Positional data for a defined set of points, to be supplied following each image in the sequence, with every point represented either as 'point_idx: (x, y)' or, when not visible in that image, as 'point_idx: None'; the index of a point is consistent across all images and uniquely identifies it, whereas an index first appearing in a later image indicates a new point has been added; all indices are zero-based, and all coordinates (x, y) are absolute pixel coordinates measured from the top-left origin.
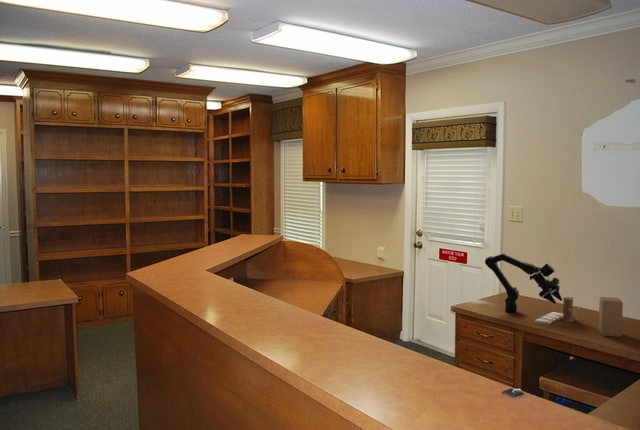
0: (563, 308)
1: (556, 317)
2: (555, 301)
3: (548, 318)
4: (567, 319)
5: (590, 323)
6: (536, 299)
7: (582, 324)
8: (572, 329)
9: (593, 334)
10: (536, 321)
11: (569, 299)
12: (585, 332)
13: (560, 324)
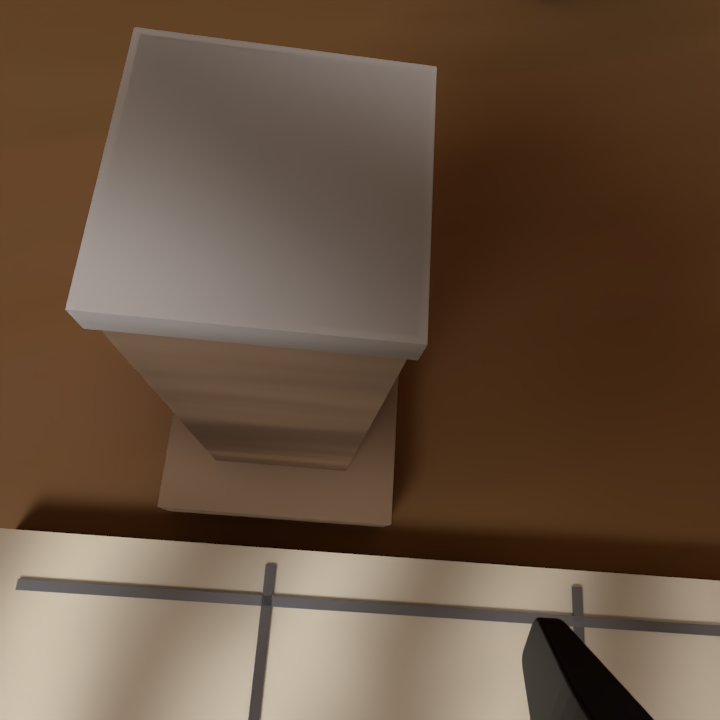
0: (363, 433)
1: (365, 593)
2: (573, 655)
3: None
4: (394, 382)
5: None
6: None
7: None
8: (714, 242)
9: (713, 30)
10: None
11: (426, 121)
12: (709, 103)
13: (609, 437)
